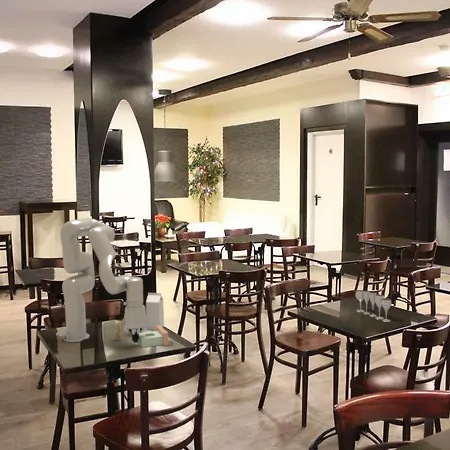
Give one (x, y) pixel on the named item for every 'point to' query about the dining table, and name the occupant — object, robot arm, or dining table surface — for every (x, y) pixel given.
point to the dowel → (118, 330)
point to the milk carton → (154, 311)
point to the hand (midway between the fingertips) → (135, 341)
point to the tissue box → (150, 339)
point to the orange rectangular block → (163, 334)
